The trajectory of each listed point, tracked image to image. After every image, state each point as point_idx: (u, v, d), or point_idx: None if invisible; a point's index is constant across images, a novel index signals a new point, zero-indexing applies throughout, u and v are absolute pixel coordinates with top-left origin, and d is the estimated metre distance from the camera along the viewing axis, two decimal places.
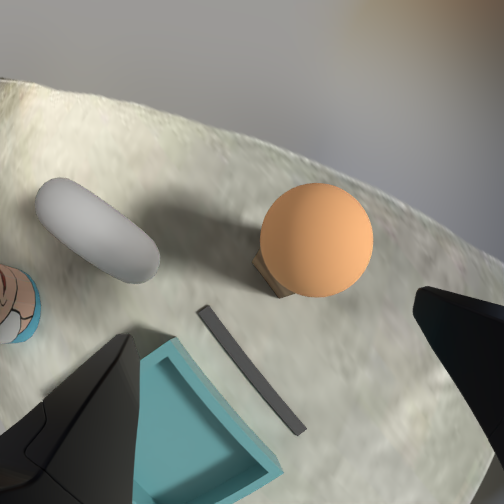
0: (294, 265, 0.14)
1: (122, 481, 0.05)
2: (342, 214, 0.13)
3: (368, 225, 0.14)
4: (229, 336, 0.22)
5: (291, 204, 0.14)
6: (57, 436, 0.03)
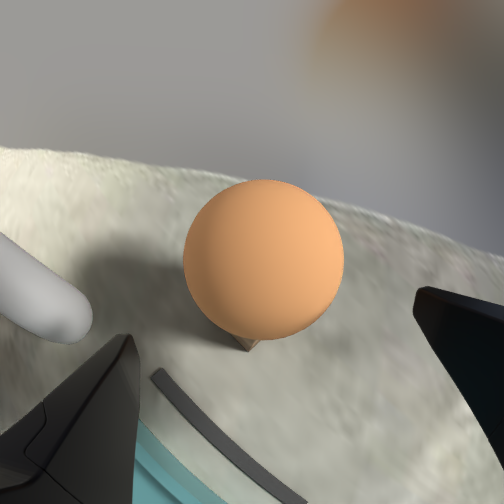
0: (221, 292, 0.09)
1: (122, 481, 0.05)
2: (281, 206, 0.09)
3: (328, 220, 0.10)
4: (191, 403, 0.16)
5: (210, 208, 0.10)
6: (57, 436, 0.03)
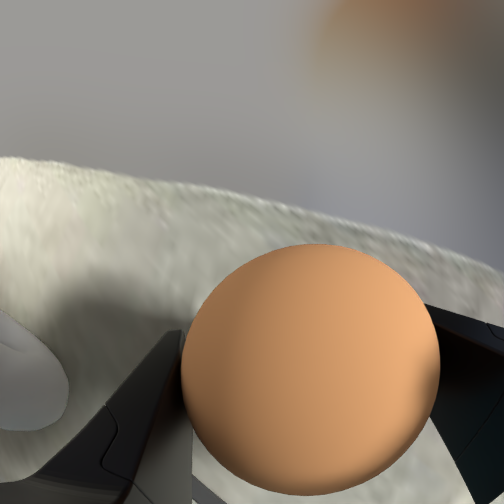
0: (254, 473, 0.04)
1: (185, 482, 0.05)
2: (376, 331, 0.04)
3: (433, 330, 0.05)
4: (197, 484, 0.12)
5: (227, 319, 0.05)
6: (137, 441, 0.04)
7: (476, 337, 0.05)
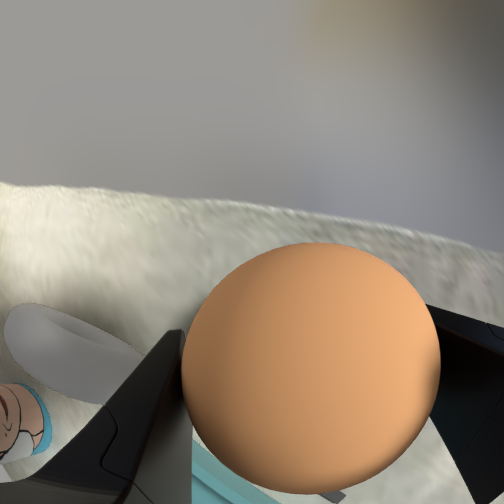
0: (255, 471, 0.04)
1: (185, 482, 0.05)
2: (376, 328, 0.04)
3: (433, 328, 0.05)
4: None
5: (228, 318, 0.05)
6: (137, 441, 0.04)
7: (476, 337, 0.05)
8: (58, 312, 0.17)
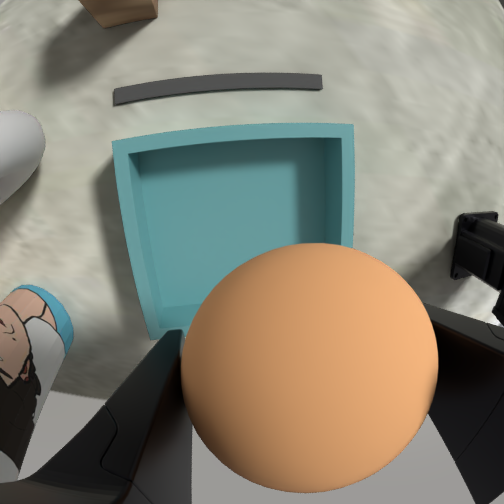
0: (255, 469, 0.04)
1: (185, 482, 0.05)
2: (374, 327, 0.04)
3: (430, 327, 0.05)
4: (158, 83, 0.15)
5: (227, 317, 0.05)
6: (137, 441, 0.04)
7: (476, 337, 0.05)
8: None
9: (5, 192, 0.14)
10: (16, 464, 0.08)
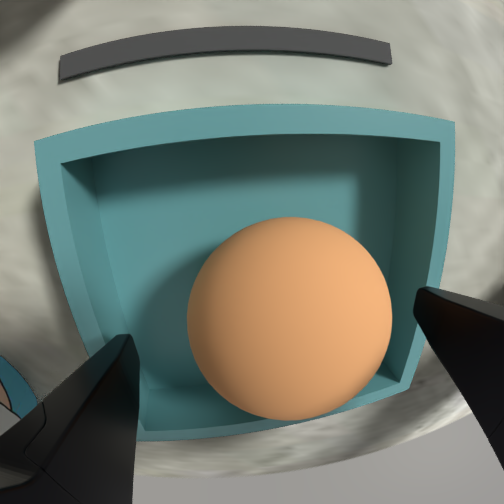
0: (248, 386, 0.06)
1: (122, 481, 0.05)
2: (330, 267, 0.06)
3: (380, 276, 0.07)
4: (130, 40, 0.08)
5: (225, 265, 0.07)
6: (57, 436, 0.03)
7: None
8: None
9: None
10: None
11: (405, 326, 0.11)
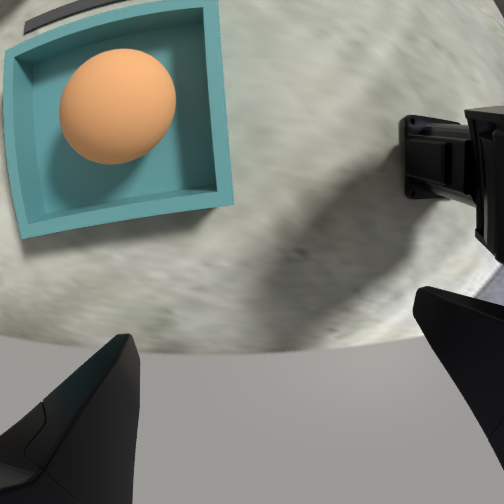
0: (81, 100, 0.10)
1: (122, 481, 0.05)
2: (125, 50, 0.10)
3: (159, 62, 0.12)
4: (58, 9, 0.12)
5: (80, 66, 0.10)
6: (57, 436, 0.03)
7: None
8: None
9: None
10: None
11: (211, 137, 0.15)
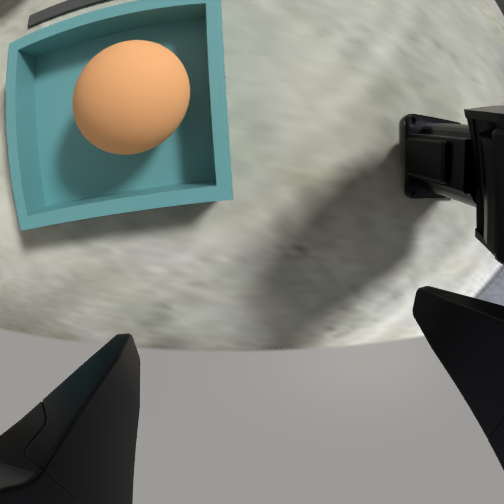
0: (111, 84, 0.10)
1: (122, 481, 0.05)
2: (149, 42, 0.11)
3: (177, 57, 0.12)
4: (62, 3, 0.12)
5: None
6: (57, 436, 0.03)
7: None
8: None
9: None
10: None
11: (211, 132, 0.15)
